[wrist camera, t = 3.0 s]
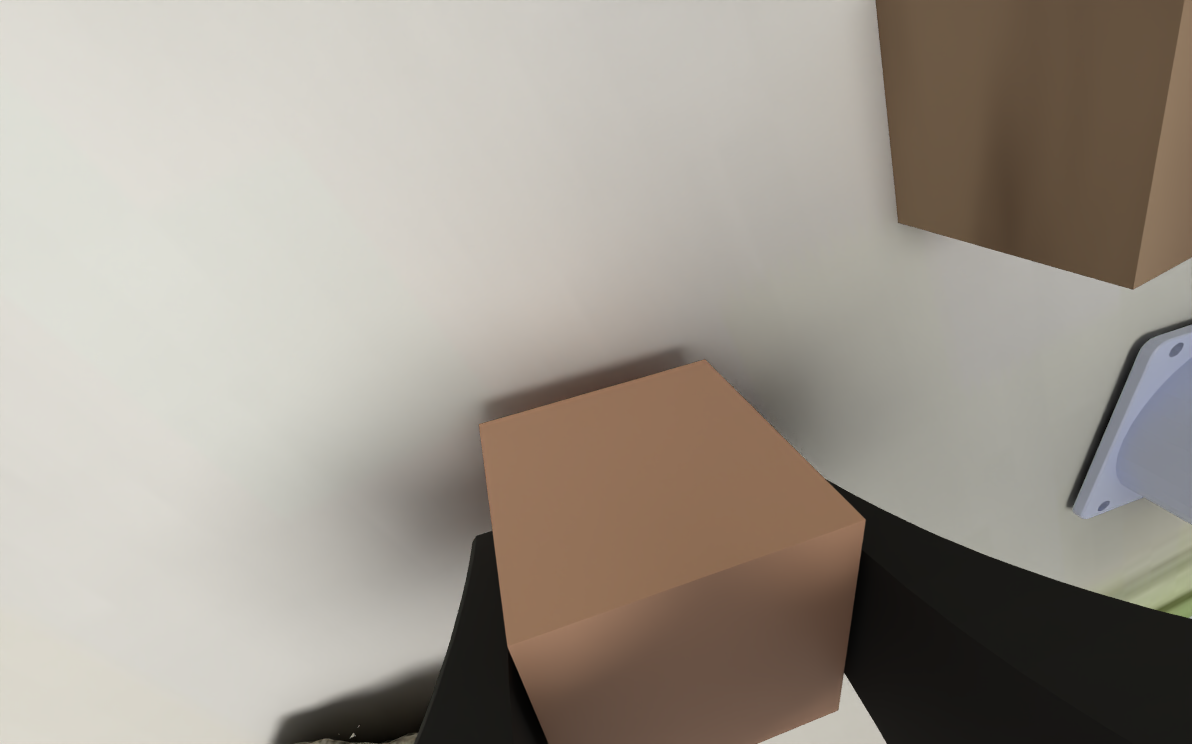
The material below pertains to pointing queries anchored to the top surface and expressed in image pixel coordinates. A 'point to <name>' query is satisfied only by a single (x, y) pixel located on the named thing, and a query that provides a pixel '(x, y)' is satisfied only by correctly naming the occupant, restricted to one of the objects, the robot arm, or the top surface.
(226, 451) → the top surface
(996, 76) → the walnut block
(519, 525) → the terracotta block
